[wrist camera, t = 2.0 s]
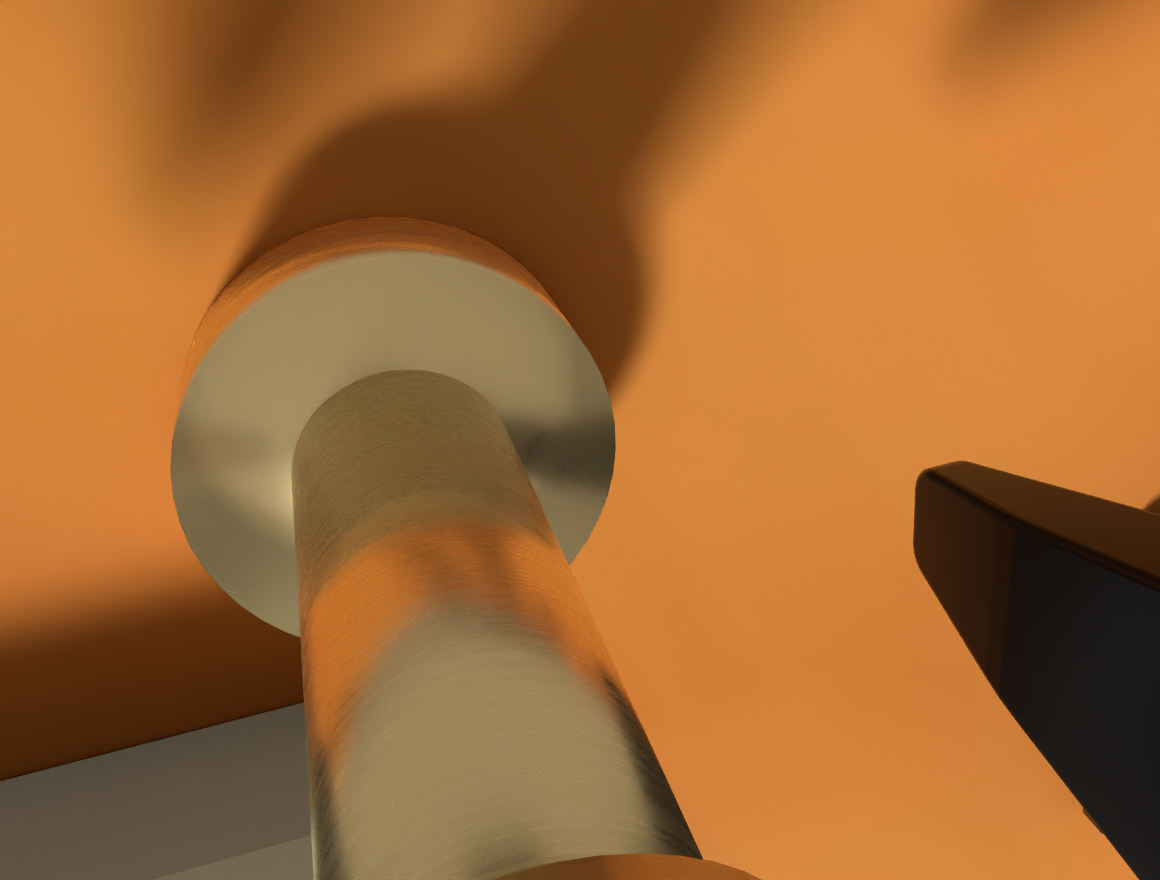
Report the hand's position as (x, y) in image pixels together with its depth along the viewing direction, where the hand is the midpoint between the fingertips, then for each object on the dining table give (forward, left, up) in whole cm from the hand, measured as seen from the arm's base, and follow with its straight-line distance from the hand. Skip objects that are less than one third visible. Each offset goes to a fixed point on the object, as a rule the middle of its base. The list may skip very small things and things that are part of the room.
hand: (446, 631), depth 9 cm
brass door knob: (0, 0, -4) cm, 4 cm away
